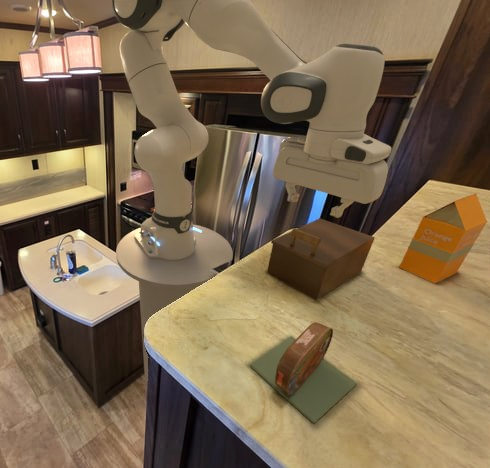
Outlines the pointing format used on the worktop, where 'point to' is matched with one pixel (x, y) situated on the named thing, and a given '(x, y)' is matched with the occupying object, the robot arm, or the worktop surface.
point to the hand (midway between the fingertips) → (312, 208)
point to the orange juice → (444, 239)
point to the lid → (322, 242)
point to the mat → (307, 383)
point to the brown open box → (315, 270)
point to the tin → (303, 357)
